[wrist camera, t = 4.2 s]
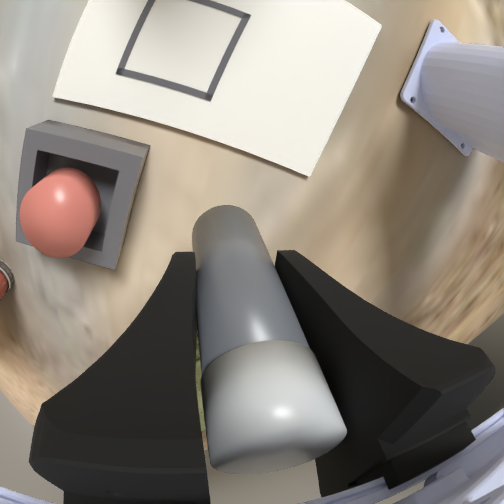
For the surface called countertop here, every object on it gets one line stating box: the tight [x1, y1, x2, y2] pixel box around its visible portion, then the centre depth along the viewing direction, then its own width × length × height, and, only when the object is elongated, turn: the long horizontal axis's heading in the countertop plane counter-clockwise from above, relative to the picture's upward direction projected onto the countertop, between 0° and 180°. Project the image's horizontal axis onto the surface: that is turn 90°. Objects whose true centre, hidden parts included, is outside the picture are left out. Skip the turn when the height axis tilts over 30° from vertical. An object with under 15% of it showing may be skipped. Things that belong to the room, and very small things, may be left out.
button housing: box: [16, 120, 150, 270], centre depth 15 cm, size 7×7×3 cm
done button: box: [20, 167, 101, 258], centre depth 13 cm, size 4×4×2 cm
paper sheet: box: [53, 0, 382, 177], centre depth 13 cm, size 17×12×1 cm
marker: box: [192, 205, 347, 475], centre depth 9 cm, size 3×3×9 cm
